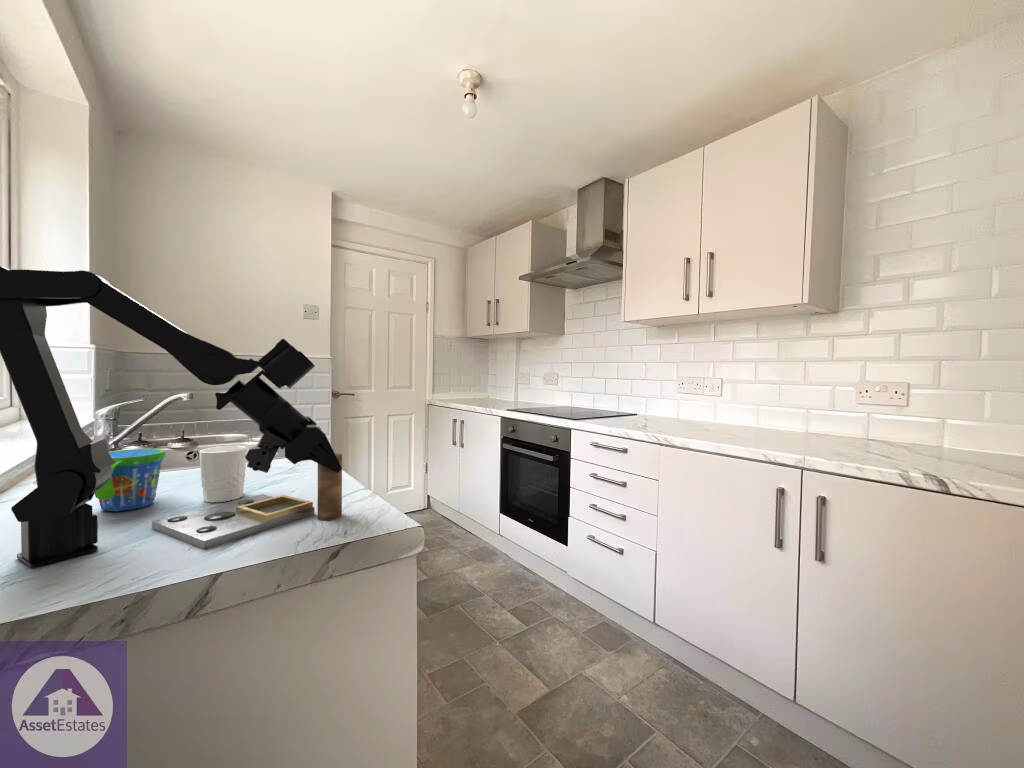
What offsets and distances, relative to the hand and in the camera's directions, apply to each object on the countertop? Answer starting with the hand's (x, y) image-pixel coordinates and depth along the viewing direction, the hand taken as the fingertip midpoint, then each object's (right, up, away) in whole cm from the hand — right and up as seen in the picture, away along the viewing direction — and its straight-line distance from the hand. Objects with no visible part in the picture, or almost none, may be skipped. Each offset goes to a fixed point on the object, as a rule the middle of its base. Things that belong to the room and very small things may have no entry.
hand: (338, 468), depth 76 cm
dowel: (-1, -9, 0) cm, 9 cm away
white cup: (-27, -8, +10) cm, 30 cm away
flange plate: (-16, -8, -3) cm, 18 cm away
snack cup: (-41, -8, +3) cm, 42 cm away
